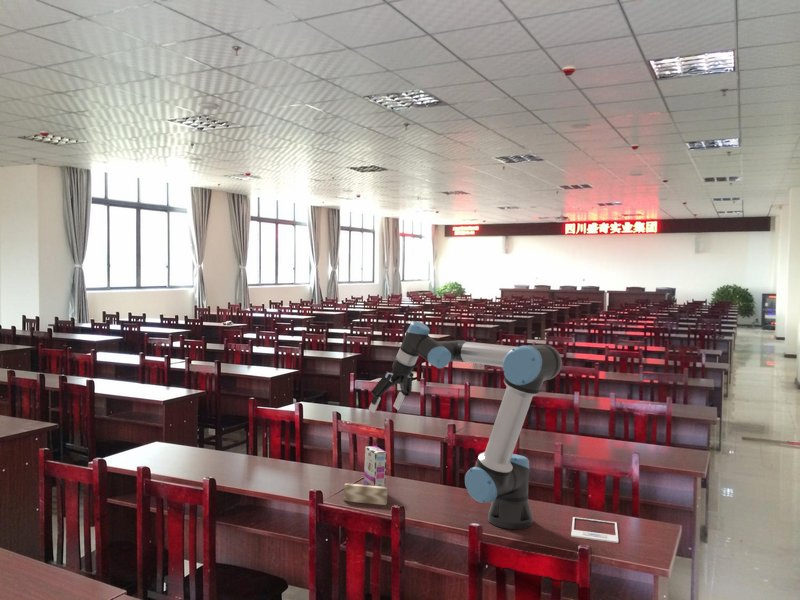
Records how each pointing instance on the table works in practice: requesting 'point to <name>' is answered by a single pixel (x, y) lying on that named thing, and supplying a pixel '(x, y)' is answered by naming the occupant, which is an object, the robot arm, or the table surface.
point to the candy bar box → (375, 466)
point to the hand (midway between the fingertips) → (383, 409)
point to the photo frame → (594, 535)
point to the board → (365, 494)
